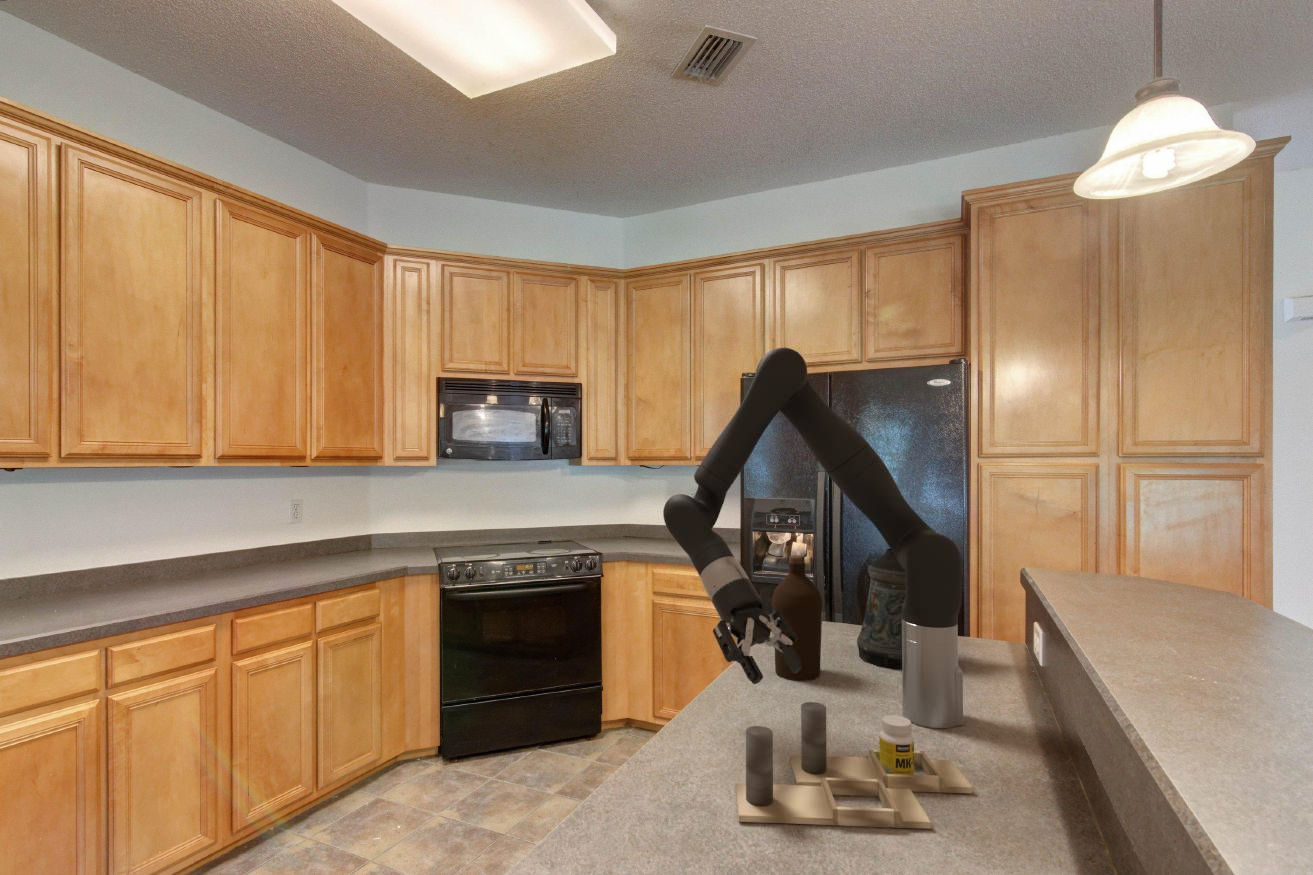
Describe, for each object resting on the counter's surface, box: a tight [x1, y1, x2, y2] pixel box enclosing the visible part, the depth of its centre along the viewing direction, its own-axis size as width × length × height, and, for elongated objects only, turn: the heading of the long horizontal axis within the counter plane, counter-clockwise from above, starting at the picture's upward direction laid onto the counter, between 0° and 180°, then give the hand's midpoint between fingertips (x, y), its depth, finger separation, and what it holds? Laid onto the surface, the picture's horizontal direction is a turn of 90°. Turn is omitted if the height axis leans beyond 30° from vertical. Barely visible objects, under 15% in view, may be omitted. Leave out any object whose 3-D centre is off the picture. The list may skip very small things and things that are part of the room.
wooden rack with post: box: [789, 701, 973, 794], centre depth 95 cm, size 24×8×10 cm, turn 86°
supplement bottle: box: [878, 714, 915, 775], centre depth 95 cm, size 5×5×8 cm
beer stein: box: [856, 548, 906, 671], centre depth 150 cm, size 16×19×25 cm
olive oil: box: [771, 554, 824, 682], centre depth 139 cm, size 11×11×25 cm
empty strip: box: [734, 725, 932, 829], centre depth 86 cm, size 24×8×10 cm, turn 86°
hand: (778, 675), depth 102 cm, fingers open, 8 cm apart
